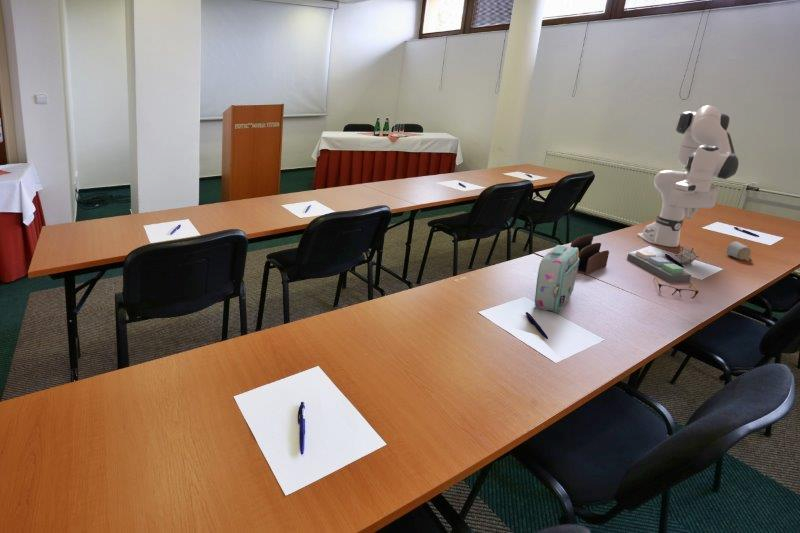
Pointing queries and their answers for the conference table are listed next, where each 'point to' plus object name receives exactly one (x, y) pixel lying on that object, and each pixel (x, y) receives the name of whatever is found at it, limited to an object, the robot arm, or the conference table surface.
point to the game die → (686, 256)
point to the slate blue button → (658, 261)
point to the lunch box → (556, 278)
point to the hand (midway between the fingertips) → (688, 217)
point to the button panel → (658, 269)
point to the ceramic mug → (738, 251)
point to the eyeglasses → (677, 289)
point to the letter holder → (589, 254)
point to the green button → (672, 268)
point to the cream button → (645, 254)
